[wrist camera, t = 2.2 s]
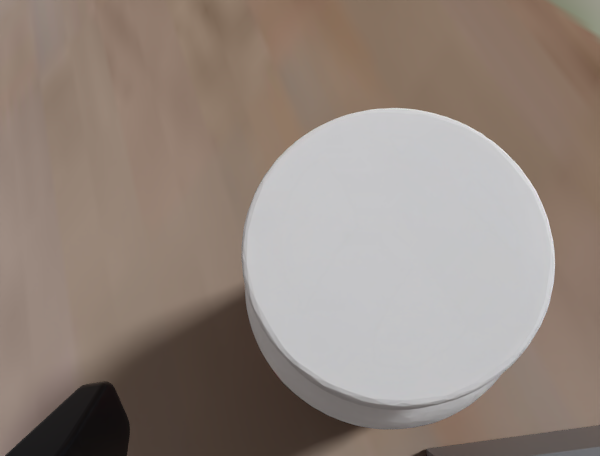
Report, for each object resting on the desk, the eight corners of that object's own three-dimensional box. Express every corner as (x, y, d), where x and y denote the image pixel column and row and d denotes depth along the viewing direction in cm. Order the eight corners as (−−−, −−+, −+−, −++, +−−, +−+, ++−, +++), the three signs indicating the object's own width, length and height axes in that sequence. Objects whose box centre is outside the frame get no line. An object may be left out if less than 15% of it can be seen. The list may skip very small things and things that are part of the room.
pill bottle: (249, 331, 18) (128, 260, 8) (357, 207, 18) (363, 14, 9) (384, 455, 16) (429, 547, 7) (495, 314, 17) (675, 216, 7)
